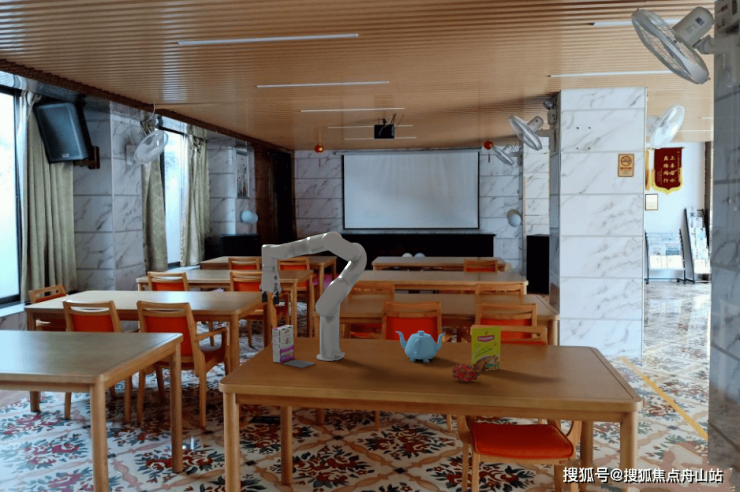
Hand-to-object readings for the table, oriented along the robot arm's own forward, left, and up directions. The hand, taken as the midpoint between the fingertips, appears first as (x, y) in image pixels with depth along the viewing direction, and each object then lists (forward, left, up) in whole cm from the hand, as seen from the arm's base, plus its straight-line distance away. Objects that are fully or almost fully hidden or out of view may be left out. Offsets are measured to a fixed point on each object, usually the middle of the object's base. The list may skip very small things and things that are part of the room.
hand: (270, 303), depth 297 cm
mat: (-22, +4, -27) cm, 35 cm away
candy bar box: (-11, +3, -27) cm, 29 cm away
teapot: (-65, -37, -27) cm, 80 cm away
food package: (-100, -36, -27) cm, 110 cm away
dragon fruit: (-100, -15, -27) cm, 105 cm away
